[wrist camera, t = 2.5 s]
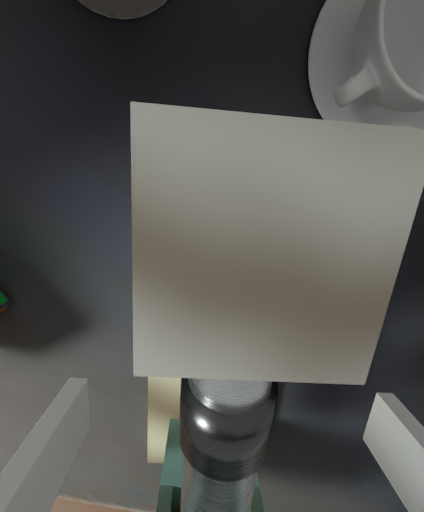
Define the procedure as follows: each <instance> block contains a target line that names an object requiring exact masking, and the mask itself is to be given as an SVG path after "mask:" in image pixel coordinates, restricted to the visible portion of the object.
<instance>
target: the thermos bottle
mask: <svg viewBox="0 0 424 512" xmlns="http://www.w3.org/2000/svg"><path fill="white" fill-rule="evenodd" d="M77 1H79V2H80V3H81V4H82V5H84V6H86V7H87V8H89V9H90V10H92V11H93V12H96V13H98V14H101V15H103V16H106V17H109V18H115V19H122V20H125V19H136V18H139V17H142V16H145V15H148V14H151V13H152V12H154V11H155V10H157V9H158V8H160V7H161V6H163V5H164V4H165V3H166V2H167V1H168V0H77Z"/></svg>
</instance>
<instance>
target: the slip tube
mask: <svg viewBox="0 0 424 512" xmlns="http://www.w3.org/2000/svg"><path fill="white" fill-rule="evenodd" d="M277 397H278V384H277V382H274V381H249V380H223V379H197V378H181V393H180V412H179V433H178V436H179V443H180V447H181V450H182V452H183V454H184V455H183V472H182V489H181V505H180V512H250V509H251V503H252V497H253V491H254V486H255V480H256V474H257V470H258V469H259V468H260V467H261V465H262V464H263V462H264V460H265V458H266V455H267V451H268V446H269V441H270V435H271V430H272V424H273V419H274V414H275V408H276V403H277Z"/></svg>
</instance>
